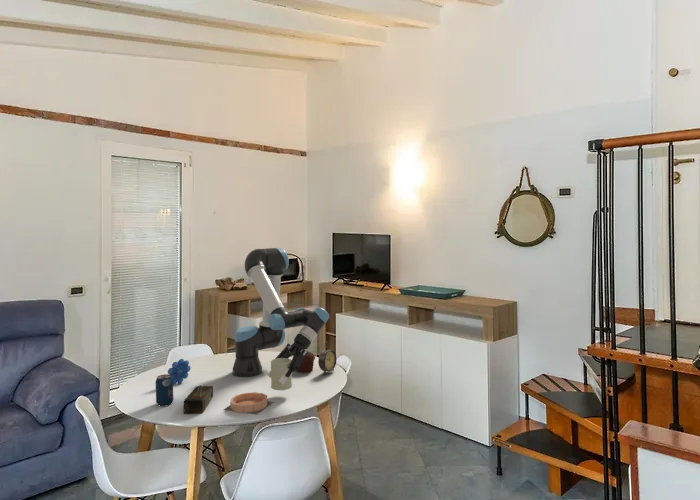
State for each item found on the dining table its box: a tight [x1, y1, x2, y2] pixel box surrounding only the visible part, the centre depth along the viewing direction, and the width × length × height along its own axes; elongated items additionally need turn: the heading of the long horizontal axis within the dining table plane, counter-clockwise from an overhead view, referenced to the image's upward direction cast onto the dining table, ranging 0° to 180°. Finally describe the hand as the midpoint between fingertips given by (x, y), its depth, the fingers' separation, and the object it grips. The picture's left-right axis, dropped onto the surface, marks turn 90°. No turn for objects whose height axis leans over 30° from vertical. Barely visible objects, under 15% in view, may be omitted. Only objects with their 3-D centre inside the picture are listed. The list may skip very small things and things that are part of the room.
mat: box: [223, 400, 275, 415], centre depth 197 cm, size 16×14×1 cm
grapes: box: [167, 358, 192, 386], centre depth 229 cm, size 12×7×12 cm, turn 134°
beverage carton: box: [183, 385, 214, 415], centre depth 199 cm, size 8×19×7 cm, turn 3°
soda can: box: [155, 373, 174, 407], centre depth 202 cm, size 7×7×12 cm
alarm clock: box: [317, 341, 337, 376], centre depth 242 cm, size 11×5×16 cm, turn 148°
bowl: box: [229, 391, 268, 414], centre depth 197 cm, size 15×15×3 cm
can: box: [270, 358, 293, 391], centre depth 207 cm, size 9×9×12 cm
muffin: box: [297, 350, 316, 374], centre depth 246 cm, size 12×11×10 cm
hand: (275, 379), depth 205 cm, fingers closed on can, 9 cm apart
